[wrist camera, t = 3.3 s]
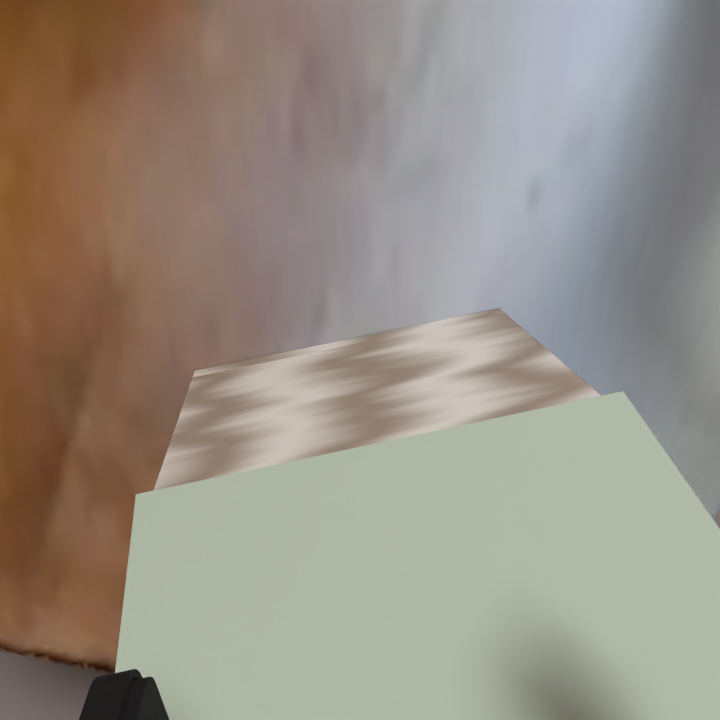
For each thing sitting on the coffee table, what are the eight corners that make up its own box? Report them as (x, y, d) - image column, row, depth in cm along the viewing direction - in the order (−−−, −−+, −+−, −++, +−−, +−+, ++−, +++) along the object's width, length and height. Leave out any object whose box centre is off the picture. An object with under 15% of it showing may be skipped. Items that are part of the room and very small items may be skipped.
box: (499, 308, 37) (619, 411, 24) (526, 559, 43) (634, 752, 30) (194, 370, 36) (146, 512, 23) (265, 617, 42) (258, 841, 29)
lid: (619, 411, 24) (623, 390, 23) (1102, 1130, 11) (1141, 1131, 10) (146, 512, 23) (135, 494, 22) (56, 1415, 10) (25, 1436, 9)
